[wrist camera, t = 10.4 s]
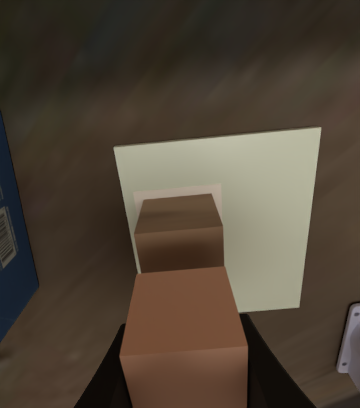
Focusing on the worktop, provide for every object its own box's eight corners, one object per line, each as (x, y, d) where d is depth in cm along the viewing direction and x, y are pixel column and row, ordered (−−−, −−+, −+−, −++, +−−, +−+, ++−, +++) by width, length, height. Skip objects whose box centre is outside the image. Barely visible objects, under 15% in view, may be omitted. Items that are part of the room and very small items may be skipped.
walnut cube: (214, 250, 21) (225, 295, 16) (152, 256, 21) (146, 302, 17) (211, 193, 19) (223, 226, 14) (143, 199, 19) (133, 234, 14)
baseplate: (296, 302, 24) (299, 308, 24) (147, 314, 25) (147, 321, 24) (316, 126, 18) (322, 127, 17) (115, 145, 18) (113, 147, 18)
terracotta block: (226, 330, 13) (246, 421, 10) (148, 336, 13) (138, 429, 10) (224, 266, 12) (248, 346, 8) (136, 273, 12) (119, 356, 8)
